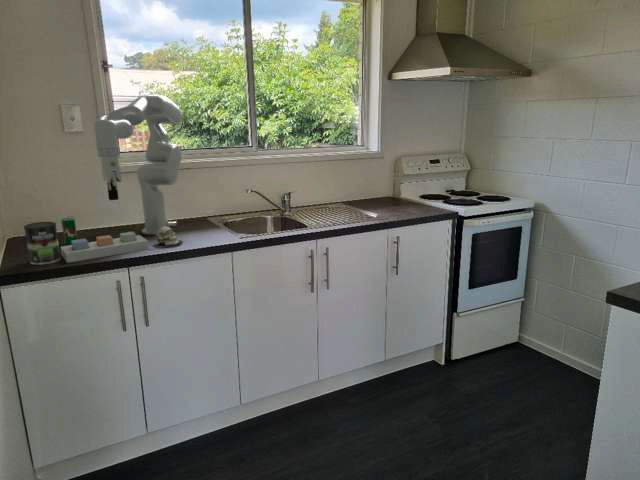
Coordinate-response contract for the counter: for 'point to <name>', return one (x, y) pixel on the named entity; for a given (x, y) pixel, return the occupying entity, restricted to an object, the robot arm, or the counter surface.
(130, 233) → the sage key
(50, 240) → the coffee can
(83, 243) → the slate key
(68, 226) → the soda can
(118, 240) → the keypad housing
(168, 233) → the skull
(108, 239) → the terracotta key
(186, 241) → the counter surface
